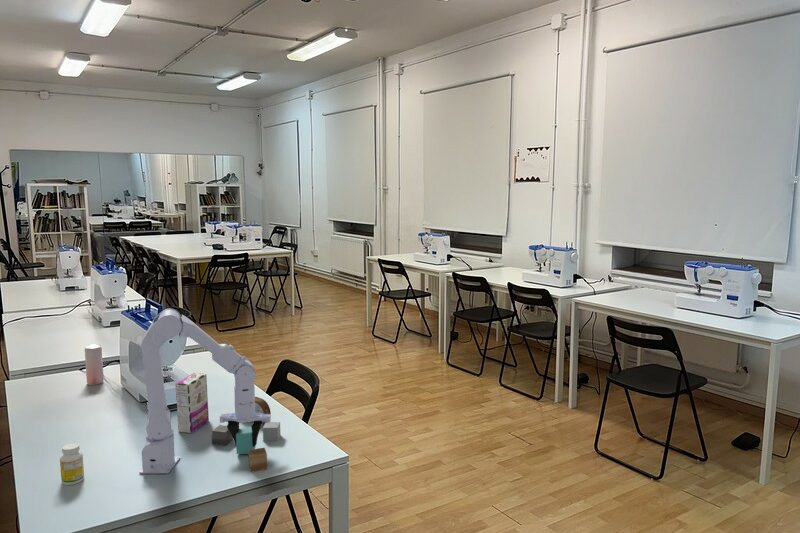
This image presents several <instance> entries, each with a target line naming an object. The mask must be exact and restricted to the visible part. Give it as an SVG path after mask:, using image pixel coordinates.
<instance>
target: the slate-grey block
mask: <svg viewBox="0 0 800 533" xmlns="http://www.w3.org/2000/svg"><path fill="white" fill-rule="evenodd" d="M280 438H281V421H270V423H266V422H264V425H263V427H262V442H279V439H280Z"/></svg>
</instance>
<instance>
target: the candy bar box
mask: <svg viewBox="0 0 800 533" xmlns="http://www.w3.org/2000/svg"><path fill="white" fill-rule="evenodd" d="M207 379H208V378H207V373H201V372H193V373H191V374H190V375H188V376H186V377H185V378H183V379H181V380H180V381H178V382H176V383H175V395H176V396H175V397H176V411H177V413H176V414H177V427H178V428H177V430H178V433H182V434H183V433H185V434H192V433H194V432H195V431H196V430H198V429H199V428H200V427H201V426H203V425H204V424H206V423H207V422H208V421H209V420H210V418H209V402H208V401H209V398H208V385H207V384H208V383H207V382H208V381H207Z"/></svg>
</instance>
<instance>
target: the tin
mask: <svg viewBox="0 0 800 533" xmlns="http://www.w3.org/2000/svg"><path fill="white" fill-rule="evenodd" d="M255 413H262V414H271V408H270V405H269V404H268V402H267V401H266V399H263V398H261V397H259V396H255ZM262 424H265V422H263V423H262Z"/></svg>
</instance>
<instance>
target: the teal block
mask: <svg viewBox="0 0 800 533" xmlns="http://www.w3.org/2000/svg"><path fill="white" fill-rule="evenodd" d="M256 447H257V445H256V446H255V447H253V435H252V428H251V427H239V430H238V432H237V433H236V446H235V448H236V450H235V451H236V454H237V455H239V454H240V455H249V450H251V449H256Z"/></svg>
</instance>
